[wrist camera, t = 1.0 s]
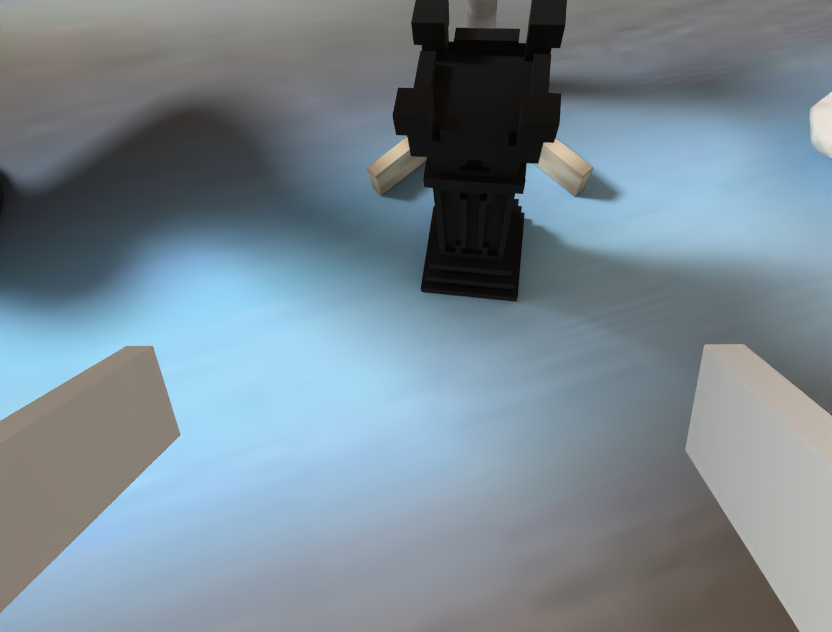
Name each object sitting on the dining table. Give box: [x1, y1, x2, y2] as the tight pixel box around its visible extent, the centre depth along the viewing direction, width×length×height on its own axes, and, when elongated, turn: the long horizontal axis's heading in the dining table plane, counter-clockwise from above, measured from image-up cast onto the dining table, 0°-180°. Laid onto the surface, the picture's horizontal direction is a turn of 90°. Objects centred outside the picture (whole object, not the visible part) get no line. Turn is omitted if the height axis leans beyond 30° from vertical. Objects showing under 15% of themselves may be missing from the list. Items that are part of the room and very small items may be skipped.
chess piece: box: [393, 0, 567, 301], centre depth 30 cm, size 8×8×20 cm
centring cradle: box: [367, 0, 593, 196], centre depth 31 cm, size 19×17×26 cm
